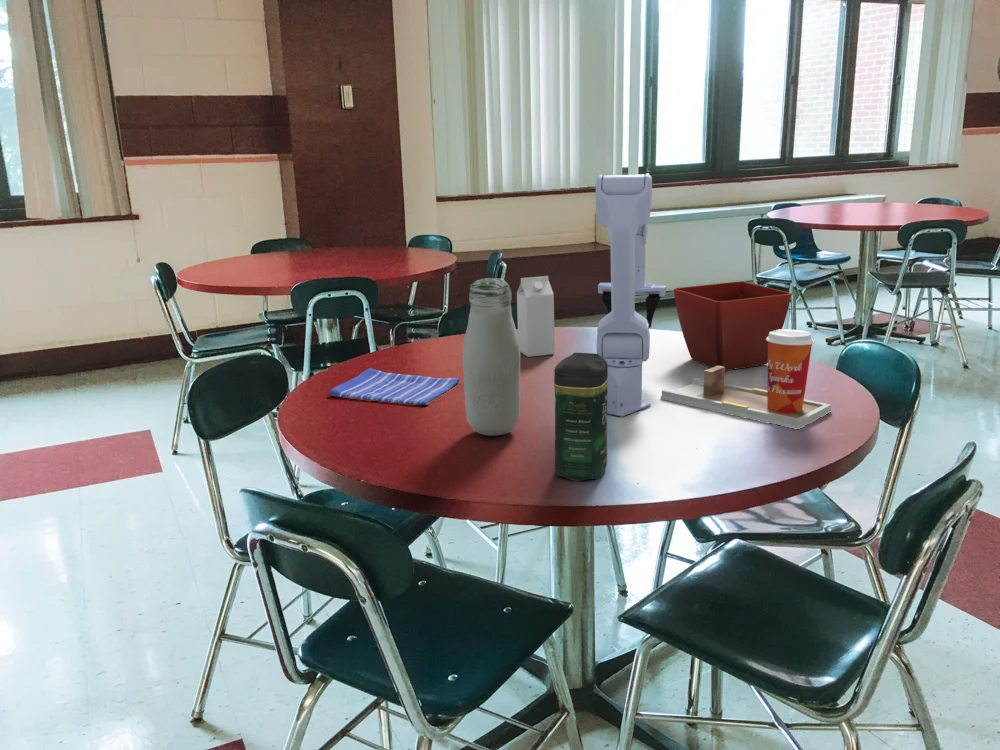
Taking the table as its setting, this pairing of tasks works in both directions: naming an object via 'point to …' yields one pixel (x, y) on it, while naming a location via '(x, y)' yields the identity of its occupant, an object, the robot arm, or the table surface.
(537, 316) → the milk carton
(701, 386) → the board
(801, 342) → the coffee cup
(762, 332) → the plant pot
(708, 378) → the wooden l-shaped board
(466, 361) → the glass bottle
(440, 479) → the table surface
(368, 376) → the dish towel
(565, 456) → the coffee jar
